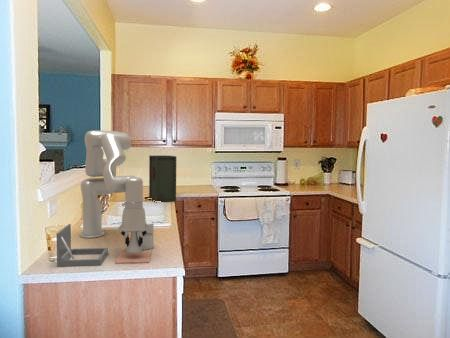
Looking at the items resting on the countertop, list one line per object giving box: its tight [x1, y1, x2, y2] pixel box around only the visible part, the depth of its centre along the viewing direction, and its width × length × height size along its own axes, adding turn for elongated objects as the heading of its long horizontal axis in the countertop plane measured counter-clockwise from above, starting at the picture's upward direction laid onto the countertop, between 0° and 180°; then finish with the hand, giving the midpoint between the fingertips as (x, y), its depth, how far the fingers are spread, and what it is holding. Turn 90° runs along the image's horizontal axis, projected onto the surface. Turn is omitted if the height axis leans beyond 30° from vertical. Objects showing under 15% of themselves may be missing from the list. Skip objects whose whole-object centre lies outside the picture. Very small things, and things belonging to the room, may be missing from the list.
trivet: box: [115, 250, 152, 265], centre depth 153 cm, size 14×14×1 cm
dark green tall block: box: [148, 155, 177, 204], centre depth 304 cm, size 18×18×40 cm
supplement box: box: [137, 220, 154, 251], centre depth 168 cm, size 7×7×13 cm
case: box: [56, 223, 109, 268], centre depth 150 cm, size 16×17×14 cm
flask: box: [125, 232, 143, 254], centre depth 153 cm, size 7×7×10 cm
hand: (134, 245), depth 153 cm, fingers closed on flask, 4 cm apart
